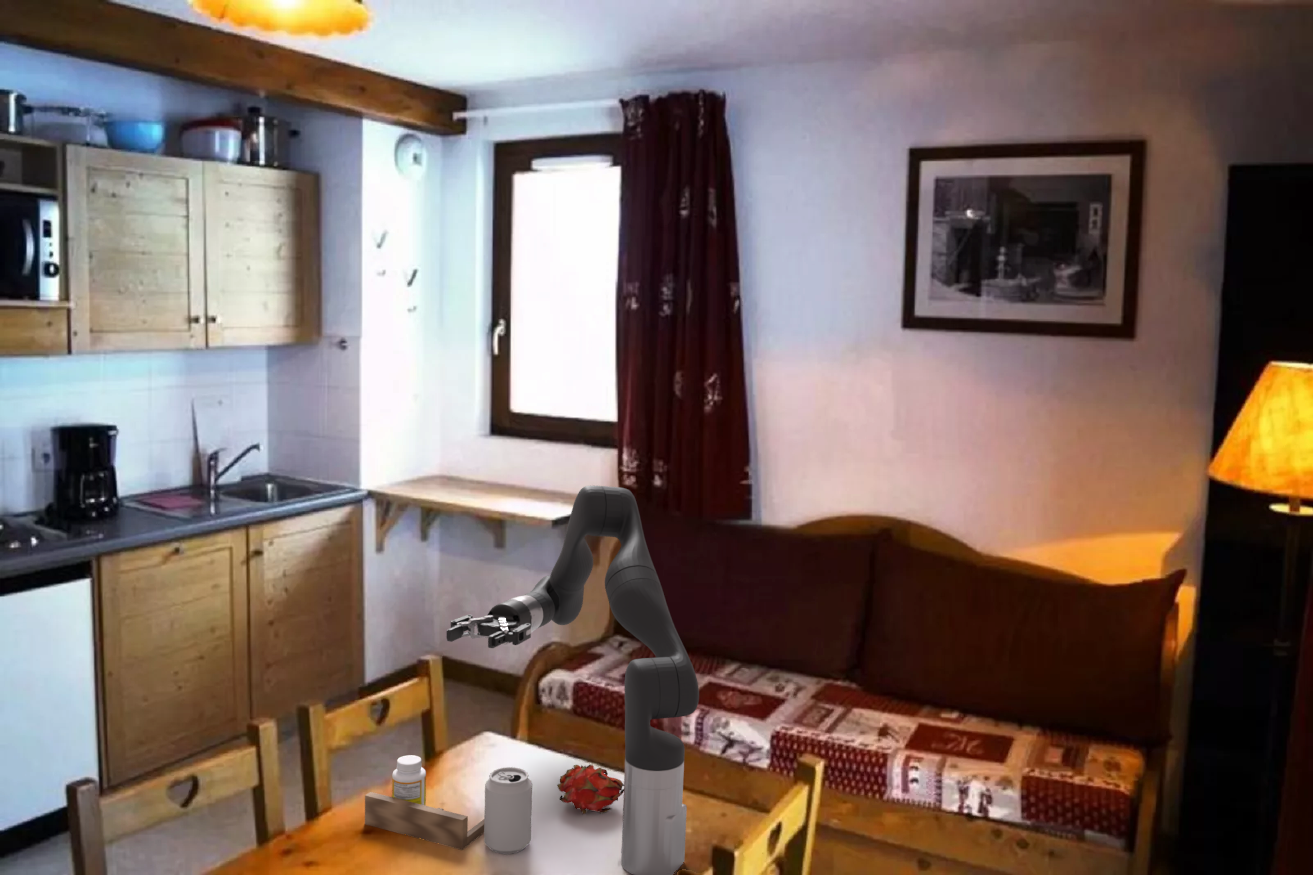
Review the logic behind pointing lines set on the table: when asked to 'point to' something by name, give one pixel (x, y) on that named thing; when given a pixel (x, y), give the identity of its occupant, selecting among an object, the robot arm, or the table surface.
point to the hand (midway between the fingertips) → (469, 639)
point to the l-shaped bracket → (420, 821)
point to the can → (508, 810)
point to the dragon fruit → (589, 788)
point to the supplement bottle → (409, 780)
